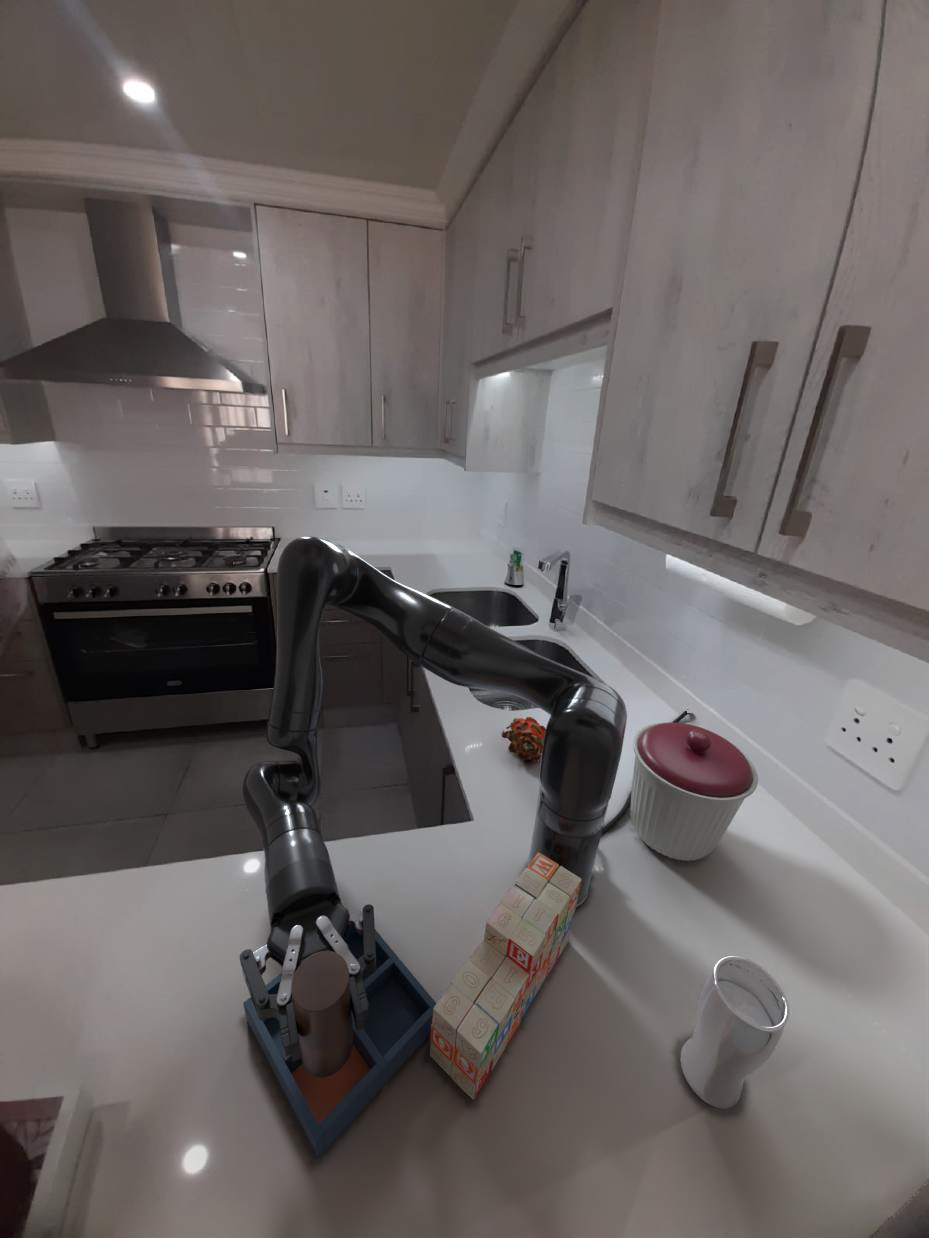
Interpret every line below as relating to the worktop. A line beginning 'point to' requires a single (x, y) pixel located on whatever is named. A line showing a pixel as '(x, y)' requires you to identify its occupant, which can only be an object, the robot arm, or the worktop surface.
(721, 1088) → the beer glass
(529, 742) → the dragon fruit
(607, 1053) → the worktop surface
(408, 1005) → the grid
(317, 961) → the brown cylinder
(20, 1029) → the worktop surface
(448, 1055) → the stack of blocks
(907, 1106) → the worktop surface
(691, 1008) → the worktop surface
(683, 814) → the canister
